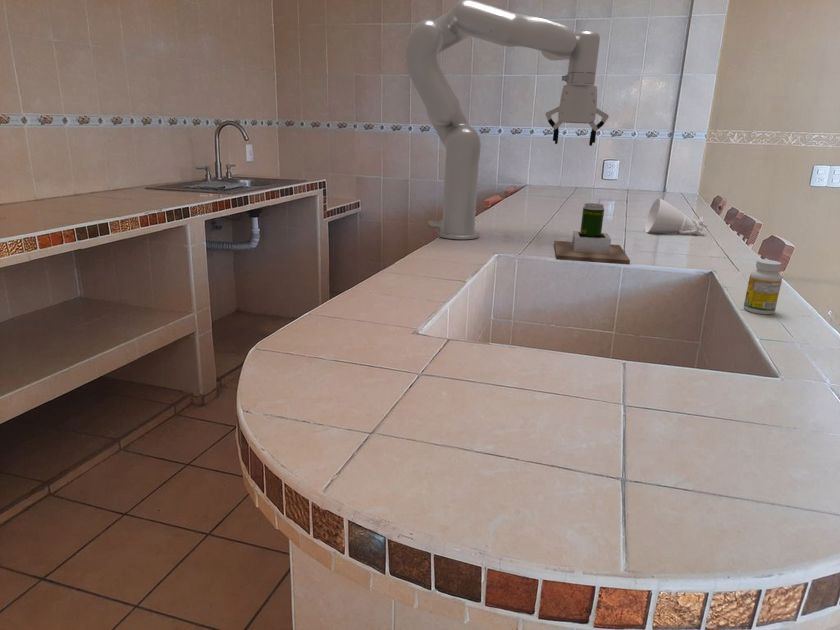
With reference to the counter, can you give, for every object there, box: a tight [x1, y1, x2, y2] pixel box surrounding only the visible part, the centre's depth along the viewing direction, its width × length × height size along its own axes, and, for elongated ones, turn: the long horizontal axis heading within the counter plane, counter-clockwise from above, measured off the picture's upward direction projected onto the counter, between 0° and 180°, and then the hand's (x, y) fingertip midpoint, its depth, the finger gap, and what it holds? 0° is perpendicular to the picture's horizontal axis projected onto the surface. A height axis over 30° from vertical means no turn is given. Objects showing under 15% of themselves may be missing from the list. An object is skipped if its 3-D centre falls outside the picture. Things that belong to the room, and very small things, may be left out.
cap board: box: [553, 230, 631, 265], centre depth 160 cm, size 18×20×5 cm
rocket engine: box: [644, 197, 709, 237], centre depth 194 cm, size 12×12×18 cm
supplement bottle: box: [743, 259, 783, 315], centre depth 113 cm, size 5×5×10 cm
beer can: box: [579, 202, 605, 238], centre depth 158 cm, size 5×5×12 cm
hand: (573, 144), depth 171 cm, fingers open, 9 cm apart
